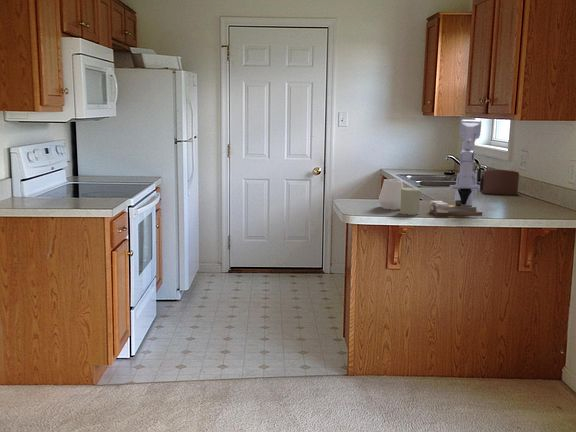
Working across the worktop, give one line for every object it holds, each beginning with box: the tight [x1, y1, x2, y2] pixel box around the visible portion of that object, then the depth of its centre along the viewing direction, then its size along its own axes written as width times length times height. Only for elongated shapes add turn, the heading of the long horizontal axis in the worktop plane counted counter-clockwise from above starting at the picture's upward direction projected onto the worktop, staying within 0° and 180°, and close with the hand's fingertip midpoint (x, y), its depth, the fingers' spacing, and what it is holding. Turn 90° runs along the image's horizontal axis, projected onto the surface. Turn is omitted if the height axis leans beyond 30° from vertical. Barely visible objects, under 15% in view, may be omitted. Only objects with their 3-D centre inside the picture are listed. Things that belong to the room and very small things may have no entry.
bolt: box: [449, 199, 463, 207], centre depth 306 cm, size 3×10×4 cm, turn 100°
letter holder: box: [479, 169, 520, 196], centre depth 377 cm, size 10×20×14 cm, turn 82°
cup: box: [378, 178, 404, 211], centre depth 318 cm, size 13×13×14 cm
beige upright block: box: [399, 187, 421, 216], centre depth 305 cm, size 9×9×12 cm
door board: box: [429, 200, 483, 217], centre depth 307 cm, size 10×22×6 cm, turn 100°
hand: (463, 204), depth 307 cm, fingers closed
